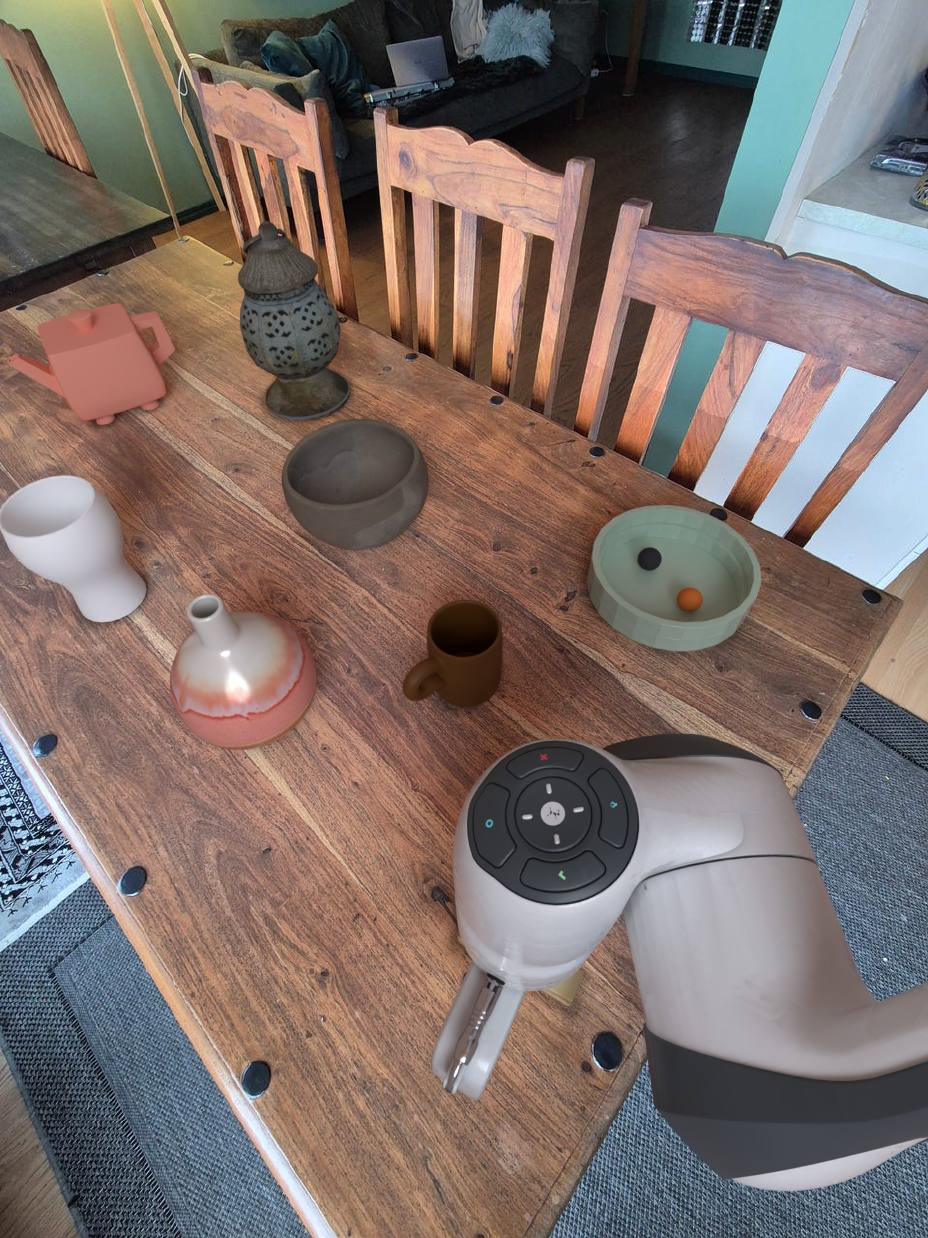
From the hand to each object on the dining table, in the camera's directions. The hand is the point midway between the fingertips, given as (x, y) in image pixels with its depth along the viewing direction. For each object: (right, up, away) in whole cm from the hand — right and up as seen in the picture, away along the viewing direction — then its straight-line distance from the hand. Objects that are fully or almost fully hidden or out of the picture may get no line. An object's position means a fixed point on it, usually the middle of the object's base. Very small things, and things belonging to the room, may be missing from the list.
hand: (516, 948), depth 50 cm
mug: (-5, +18, +18) cm, 26 cm away
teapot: (-59, +61, +52) cm, 99 cm away
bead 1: (+18, +32, +28) cm, 46 cm away
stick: (0, -2, +3) cm, 4 cm away
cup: (-47, +28, +27) cm, 61 cm away
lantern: (-29, +62, +52) cm, 86 cm away
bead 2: (+22, +27, +24) cm, 42 cm away
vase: (-26, +16, +18) cm, 35 cm away
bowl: (-17, +39, +35) cm, 55 cm away
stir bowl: (+20, +29, +26) cm, 44 cm away
